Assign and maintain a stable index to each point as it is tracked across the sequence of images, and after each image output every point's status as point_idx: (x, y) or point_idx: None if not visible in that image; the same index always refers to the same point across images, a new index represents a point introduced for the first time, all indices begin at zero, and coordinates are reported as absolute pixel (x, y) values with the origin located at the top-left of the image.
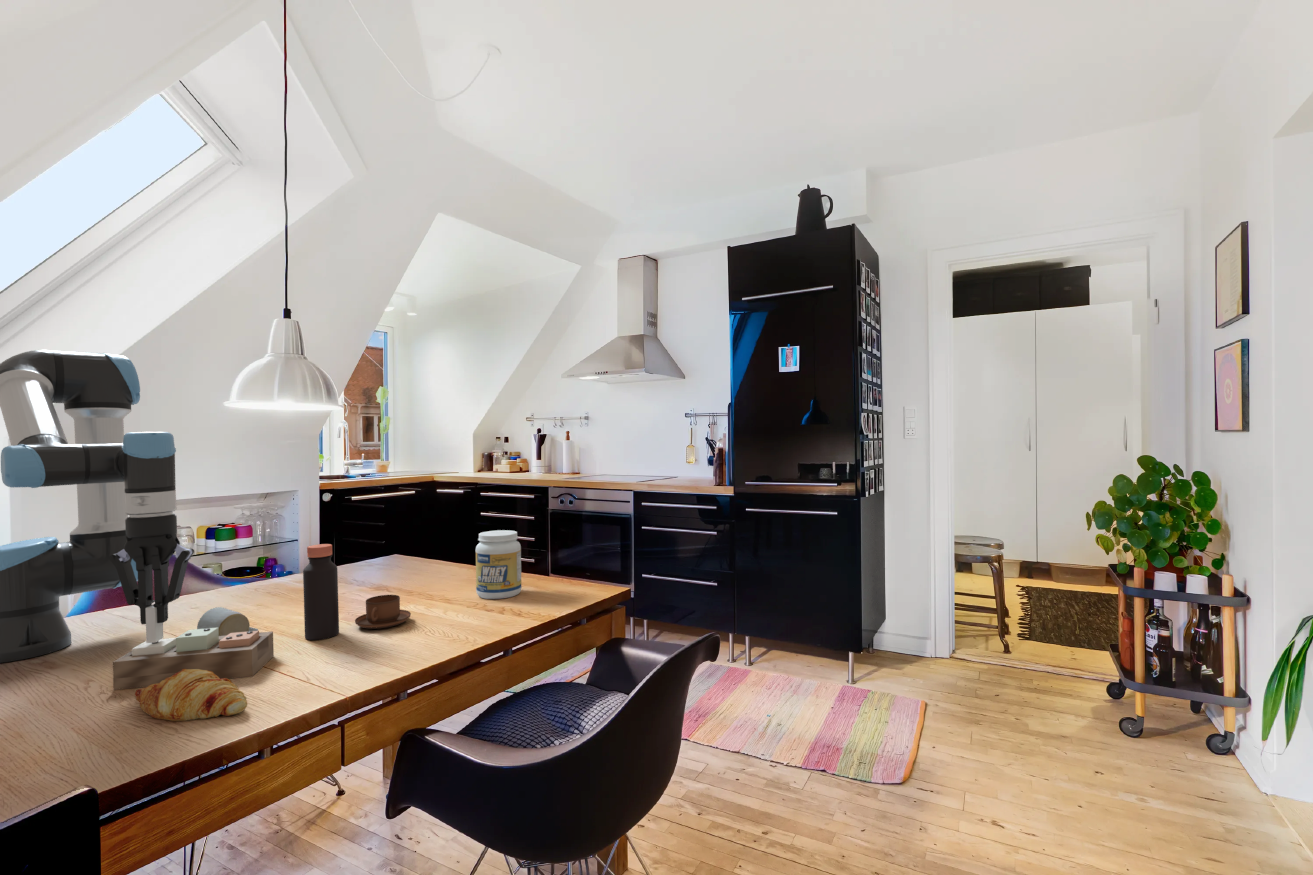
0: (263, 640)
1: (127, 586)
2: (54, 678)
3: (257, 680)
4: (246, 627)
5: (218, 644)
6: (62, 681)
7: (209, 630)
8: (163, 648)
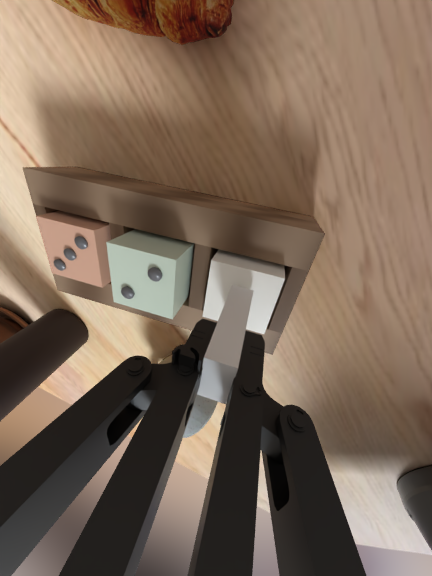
0: None
1: (325, 550)
2: (425, 353)
3: (54, 130)
4: None
5: None
6: (412, 329)
7: (121, 285)
8: (213, 257)
